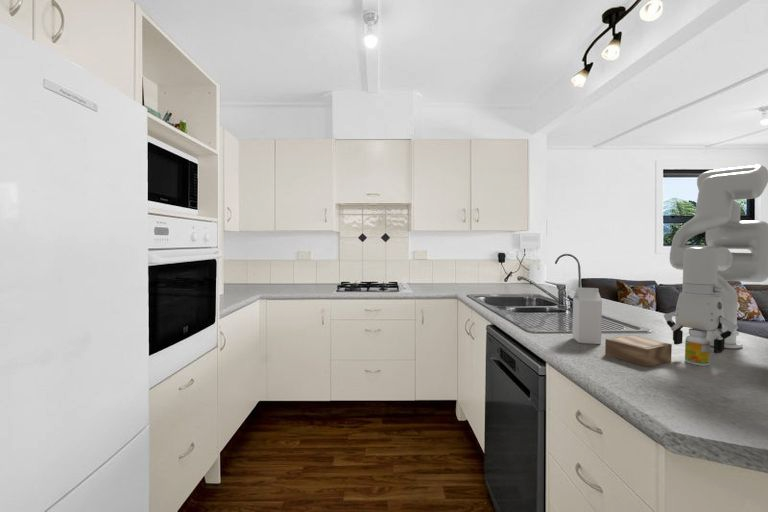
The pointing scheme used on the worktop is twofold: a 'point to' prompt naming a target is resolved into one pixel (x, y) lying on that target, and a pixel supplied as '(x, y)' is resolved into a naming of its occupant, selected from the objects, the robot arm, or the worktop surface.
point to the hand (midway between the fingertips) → (697, 348)
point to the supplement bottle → (697, 347)
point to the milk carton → (587, 315)
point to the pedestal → (638, 350)
